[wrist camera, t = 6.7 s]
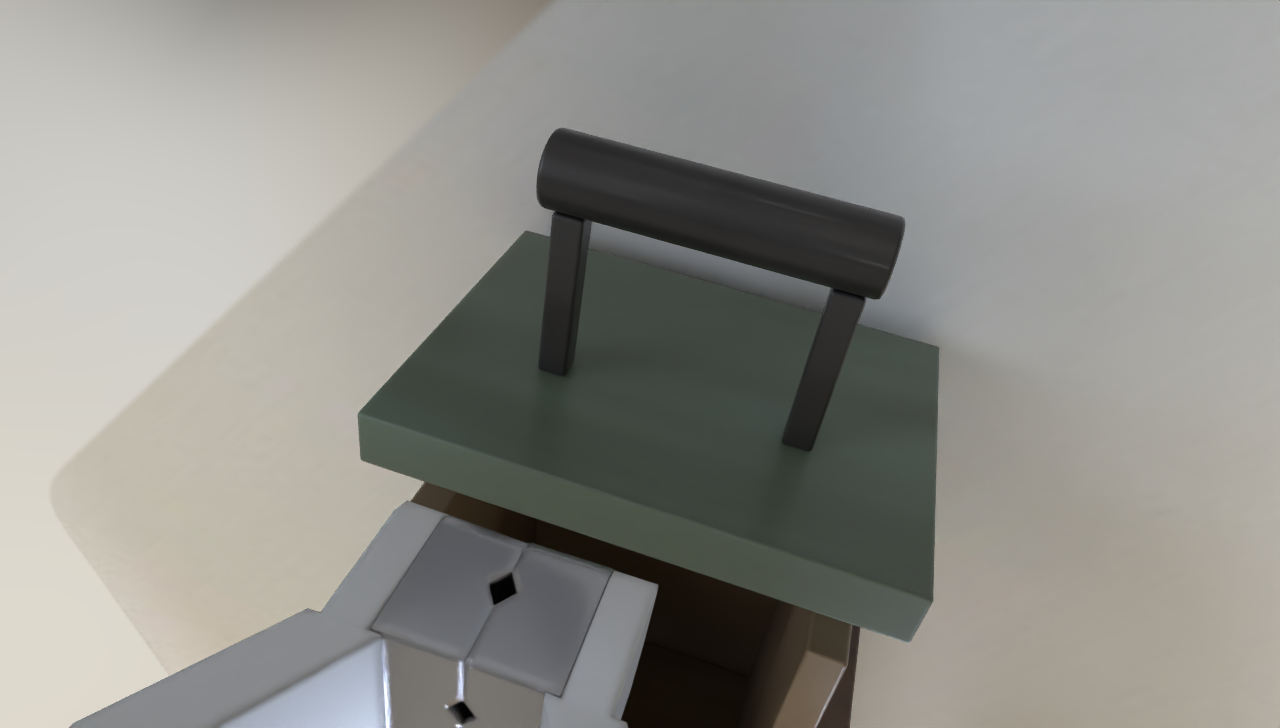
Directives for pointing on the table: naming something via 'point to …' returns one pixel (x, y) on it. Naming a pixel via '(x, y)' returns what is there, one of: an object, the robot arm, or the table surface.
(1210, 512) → the table surface
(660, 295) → the green drawer
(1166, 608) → the table surface
